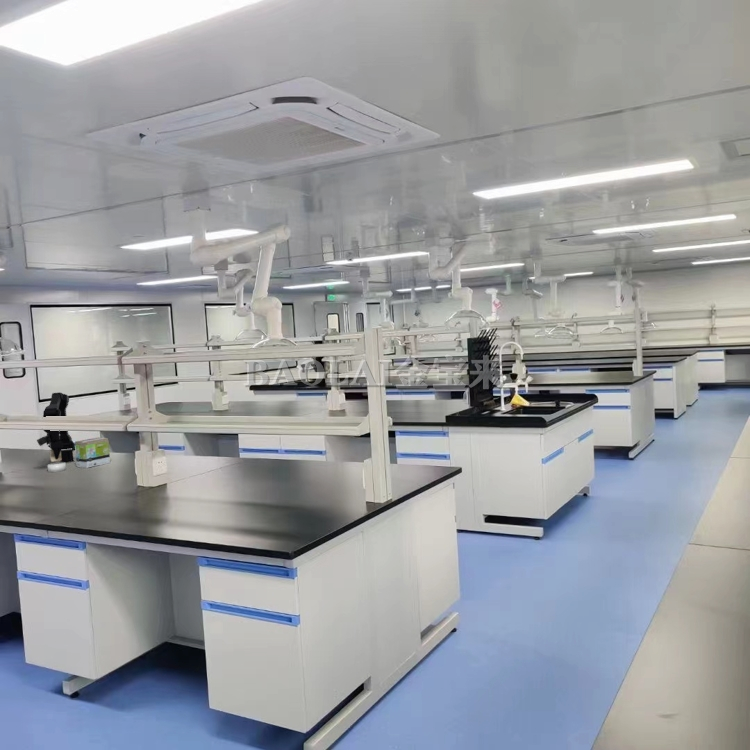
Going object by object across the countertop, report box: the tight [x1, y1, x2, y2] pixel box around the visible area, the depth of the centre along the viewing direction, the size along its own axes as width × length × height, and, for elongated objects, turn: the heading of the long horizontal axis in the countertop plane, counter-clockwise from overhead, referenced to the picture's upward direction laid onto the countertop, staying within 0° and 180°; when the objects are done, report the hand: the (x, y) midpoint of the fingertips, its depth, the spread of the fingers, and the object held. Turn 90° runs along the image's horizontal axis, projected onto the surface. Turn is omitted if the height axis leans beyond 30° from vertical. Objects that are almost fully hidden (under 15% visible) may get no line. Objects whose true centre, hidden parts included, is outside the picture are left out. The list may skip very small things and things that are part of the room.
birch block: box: [49, 448, 62, 463], centre depth 366 cm, size 5×5×6 cm
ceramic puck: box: [47, 461, 67, 474], centre depth 367 cm, size 9×9×4 cm
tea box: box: [74, 437, 111, 469], centre depth 377 cm, size 15×10×15 cm, turn 148°
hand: (56, 458), depth 367 cm, fingers closed on birch block, 5 cm apart
